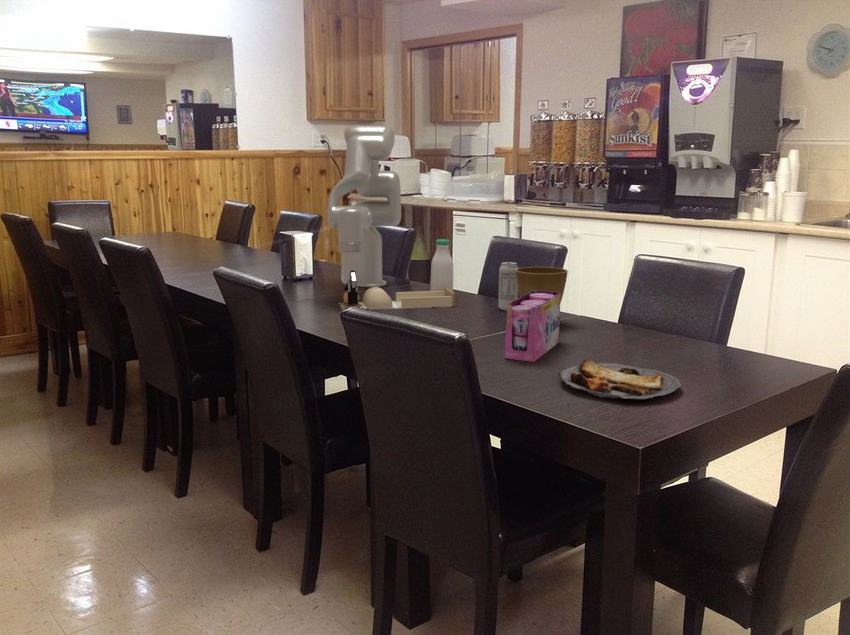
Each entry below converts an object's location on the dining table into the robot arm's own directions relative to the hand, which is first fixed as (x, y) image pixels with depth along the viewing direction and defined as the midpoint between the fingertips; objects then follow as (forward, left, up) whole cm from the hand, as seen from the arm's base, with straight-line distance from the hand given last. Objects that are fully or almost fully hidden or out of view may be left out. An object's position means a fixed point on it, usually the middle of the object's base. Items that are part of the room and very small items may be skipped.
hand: (351, 301), depth 247 cm
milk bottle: (-11, +33, -2) cm, 34 cm away
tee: (0, 0, -2) cm, 2 cm away
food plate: (+96, +47, -2) cm, 107 cm away
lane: (0, +15, -4) cm, 15 cm away
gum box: (+63, +39, -2) cm, 74 cm away
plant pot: (+34, +52, -2) cm, 62 cm away
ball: (0, 0, +1) cm, 1 cm away
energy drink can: (+13, +49, -2) cm, 50 cm away
